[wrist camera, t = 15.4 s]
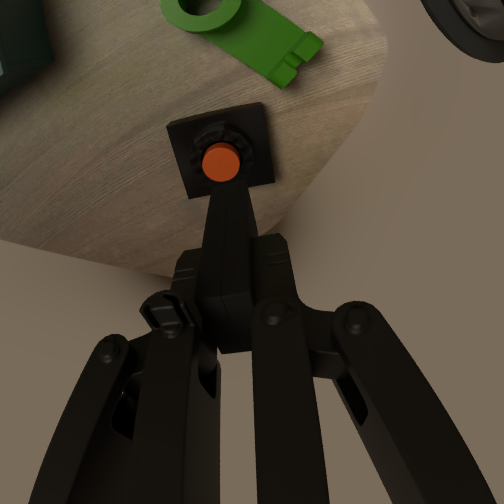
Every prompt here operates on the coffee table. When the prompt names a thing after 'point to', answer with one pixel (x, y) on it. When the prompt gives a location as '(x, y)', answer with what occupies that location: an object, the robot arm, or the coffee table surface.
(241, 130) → the control block
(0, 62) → the tin lid
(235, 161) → the button
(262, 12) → the green ring bracket
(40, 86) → the coffee table surface
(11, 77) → the tin
